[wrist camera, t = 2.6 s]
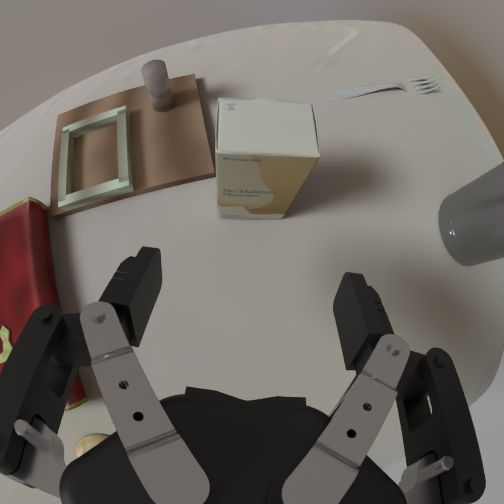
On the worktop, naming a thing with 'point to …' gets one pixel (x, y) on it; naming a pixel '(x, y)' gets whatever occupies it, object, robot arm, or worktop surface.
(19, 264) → the hardcover book
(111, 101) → the pin board
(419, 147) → the worktop surface
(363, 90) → the fork
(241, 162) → the skincare box
